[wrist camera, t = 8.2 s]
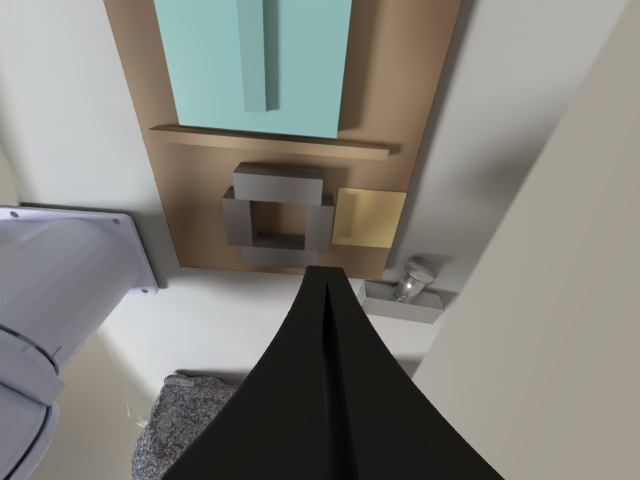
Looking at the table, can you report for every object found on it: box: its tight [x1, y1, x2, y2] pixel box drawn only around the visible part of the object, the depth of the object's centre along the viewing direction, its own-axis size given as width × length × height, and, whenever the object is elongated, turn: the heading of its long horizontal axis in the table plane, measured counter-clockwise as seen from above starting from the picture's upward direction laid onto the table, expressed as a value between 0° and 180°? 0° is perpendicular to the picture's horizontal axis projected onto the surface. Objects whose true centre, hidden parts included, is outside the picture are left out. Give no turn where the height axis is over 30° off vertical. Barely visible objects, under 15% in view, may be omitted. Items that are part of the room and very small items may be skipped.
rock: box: [132, 374, 240, 480], centre depth 29 cm, size 12×5×10 cm, turn 78°
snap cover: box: [154, 0, 352, 138], centre depth 12 cm, size 8×8×2 cm
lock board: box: [103, 0, 462, 280], centre depth 15 cm, size 16×20×3 cm
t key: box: [357, 258, 445, 324], centre depth 22 cm, size 7×2×6 cm
